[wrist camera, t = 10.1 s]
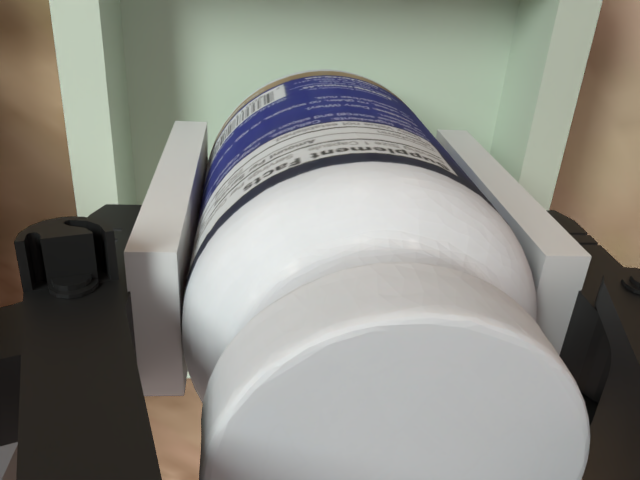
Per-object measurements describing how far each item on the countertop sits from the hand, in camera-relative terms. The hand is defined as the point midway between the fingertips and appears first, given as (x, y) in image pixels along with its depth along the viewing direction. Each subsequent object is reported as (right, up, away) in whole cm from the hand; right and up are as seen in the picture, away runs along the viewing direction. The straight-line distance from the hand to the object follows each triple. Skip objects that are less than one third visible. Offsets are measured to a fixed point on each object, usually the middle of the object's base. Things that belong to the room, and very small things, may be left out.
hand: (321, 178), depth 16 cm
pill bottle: (0, 0, +1) cm, 1 cm away
